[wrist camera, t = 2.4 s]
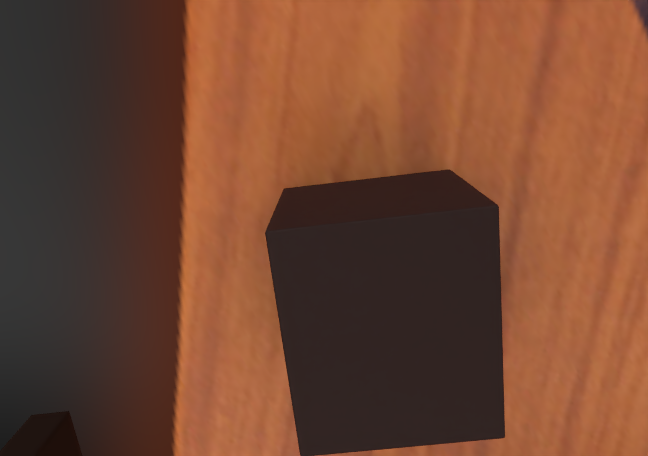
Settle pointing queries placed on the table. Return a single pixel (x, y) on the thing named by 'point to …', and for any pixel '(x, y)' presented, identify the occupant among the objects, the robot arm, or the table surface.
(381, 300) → the black cube
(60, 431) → the robot arm
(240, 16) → the table surface
